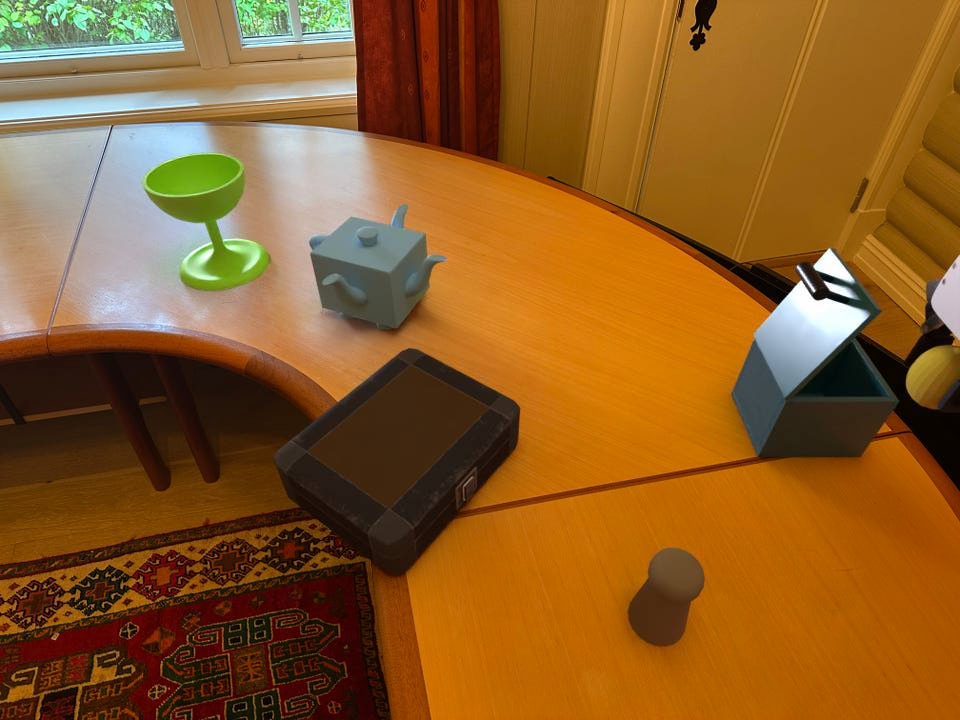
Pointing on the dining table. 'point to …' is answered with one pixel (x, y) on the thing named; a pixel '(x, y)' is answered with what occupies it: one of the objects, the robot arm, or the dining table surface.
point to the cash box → (399, 456)
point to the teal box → (814, 407)
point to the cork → (666, 597)
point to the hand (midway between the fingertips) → (936, 385)
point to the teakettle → (372, 269)
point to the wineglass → (207, 216)
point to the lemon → (933, 375)
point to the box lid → (814, 322)
